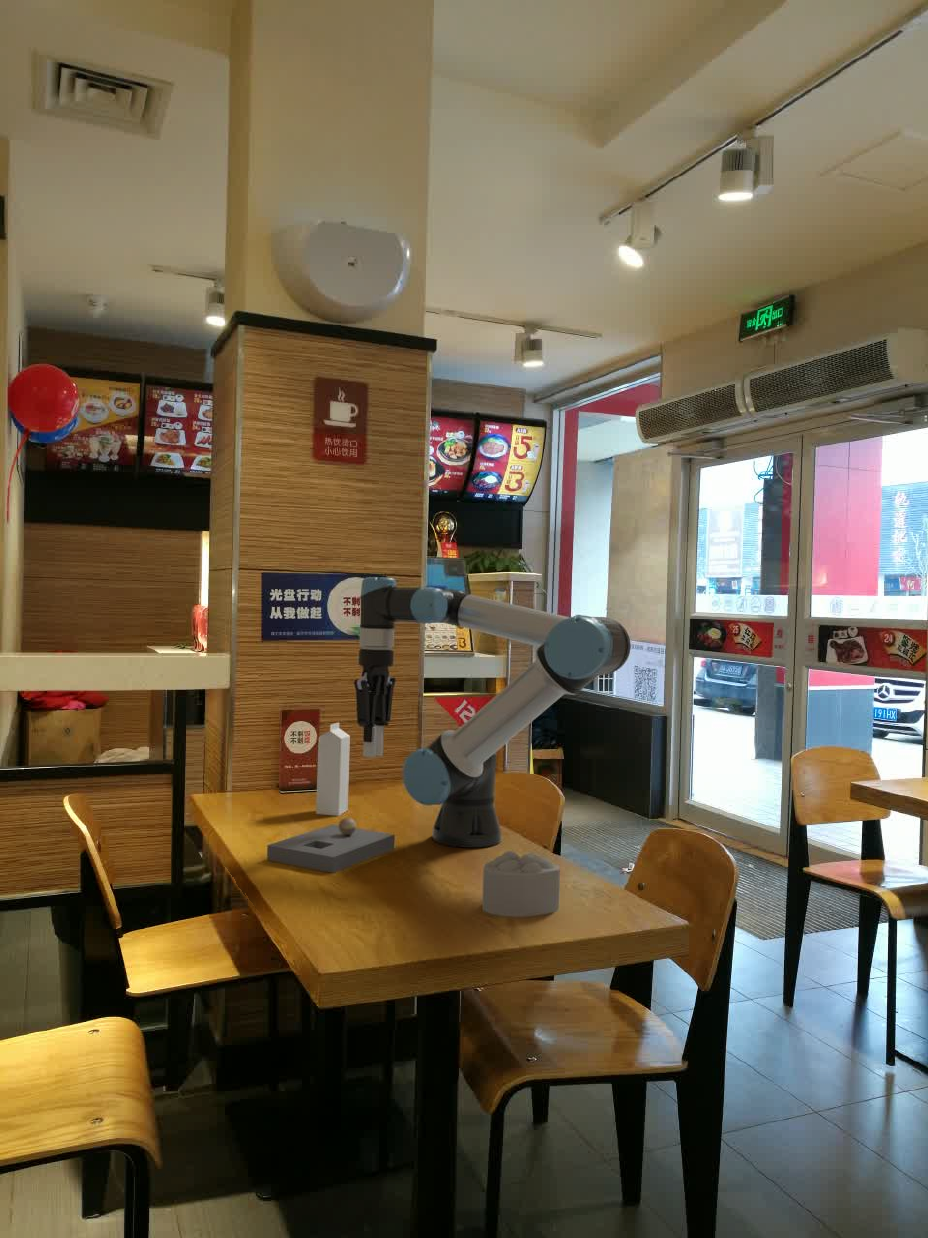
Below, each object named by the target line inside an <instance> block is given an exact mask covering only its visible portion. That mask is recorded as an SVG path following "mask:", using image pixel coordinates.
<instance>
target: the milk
mask: <svg viewBox="0 0 928 1238" xmlns="http://www.w3.org/2000/svg"><path fill="white" fill-rule="evenodd" d="M350 743H351V736H350V734H348V733H347V732H345V731H344V730H343V729H341V728H340V722H335V723H331V724H330V725H329V731H327V732H325V733H324V734H321V735H320V736H319V737H318V743H317V744H318V745H317V773H316V775H317V777H316V804H315V805H316V807H315V808H316V810H315V813H316V815H326V816H336V817H340V816H341V815H343V814H345V813H346V811H347V810H348V808H349V807H348V805H349V803H348V802H349V774H350V751H351V749H350V745H351V744H350ZM344 812H345V813H344ZM347 812H348V811H347ZM342 813H343V814H342Z"/></svg>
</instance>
